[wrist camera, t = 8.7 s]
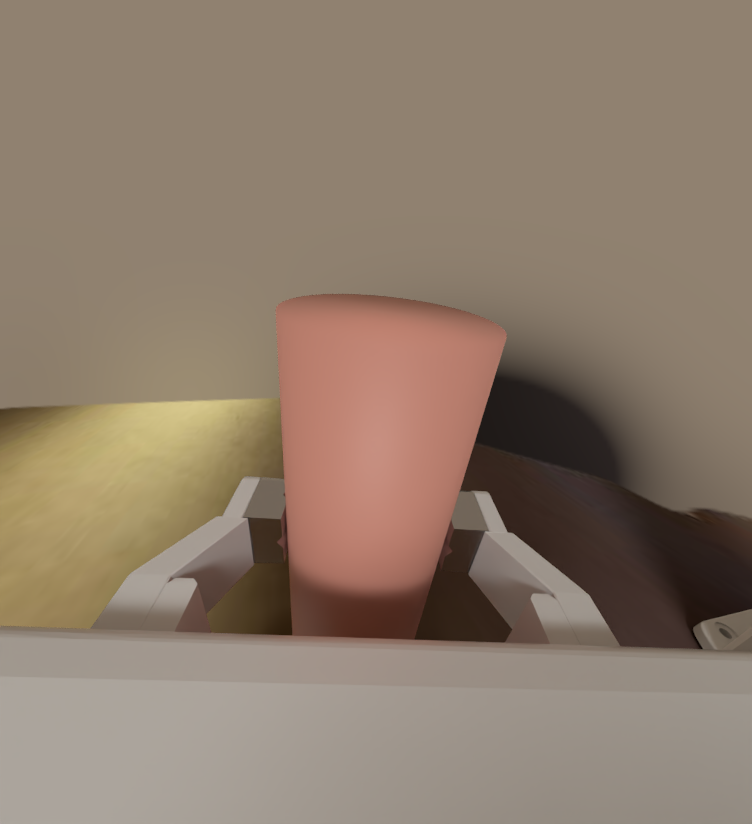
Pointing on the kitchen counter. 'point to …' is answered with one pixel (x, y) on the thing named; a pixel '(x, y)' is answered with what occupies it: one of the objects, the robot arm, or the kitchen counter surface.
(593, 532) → the kitchen counter surface
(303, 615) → the dowel
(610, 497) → the kitchen counter surface
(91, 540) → the kitchen counter surface
